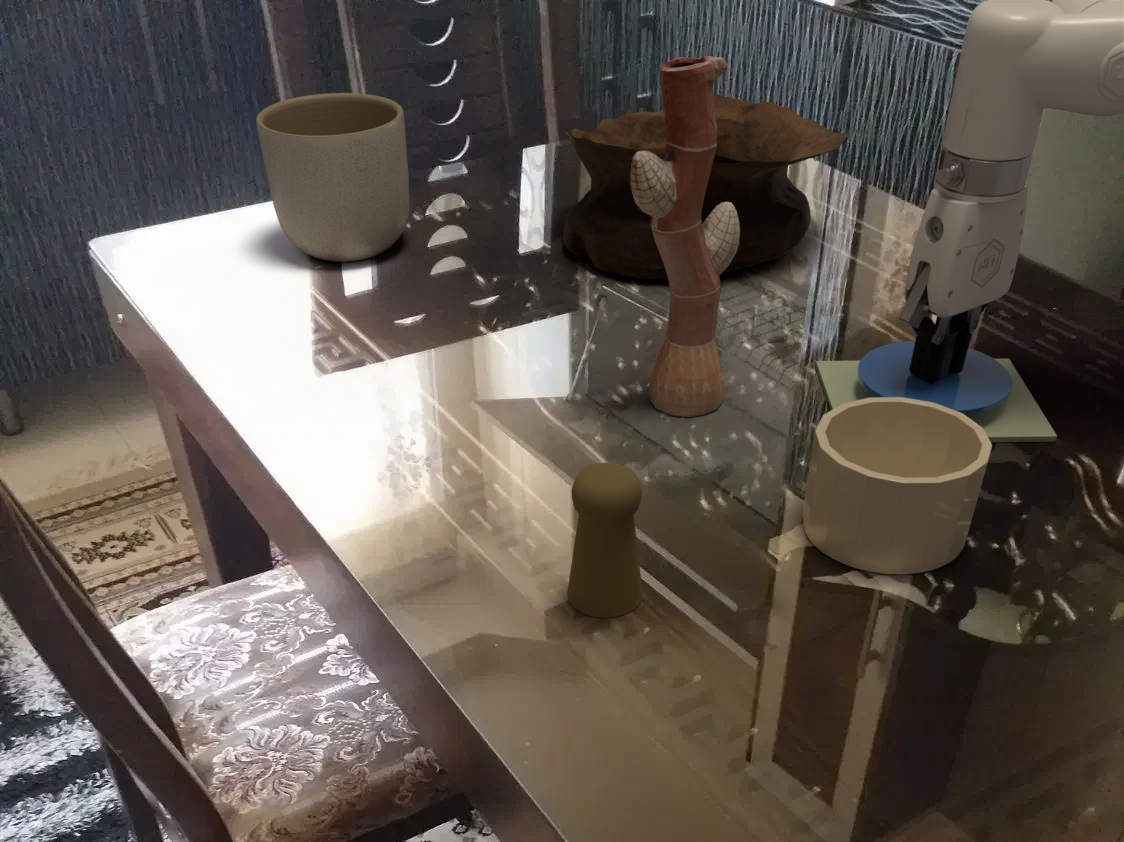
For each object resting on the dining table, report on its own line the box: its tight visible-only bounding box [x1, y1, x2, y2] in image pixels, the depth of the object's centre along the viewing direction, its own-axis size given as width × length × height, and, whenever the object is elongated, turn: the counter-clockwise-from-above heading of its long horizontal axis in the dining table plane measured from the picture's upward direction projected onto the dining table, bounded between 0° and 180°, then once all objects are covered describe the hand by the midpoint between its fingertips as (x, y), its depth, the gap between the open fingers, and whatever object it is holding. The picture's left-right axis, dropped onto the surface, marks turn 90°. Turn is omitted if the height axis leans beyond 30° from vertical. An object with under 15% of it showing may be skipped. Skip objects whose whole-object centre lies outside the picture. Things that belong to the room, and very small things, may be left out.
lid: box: [857, 324, 1013, 415], centre depth 110 cm, size 15×15×6 cm
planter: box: [255, 92, 410, 263], centre depth 138 cm, size 17×17×15 cm
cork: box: [566, 461, 644, 619], centre depth 88 cm, size 6×6×11 cm
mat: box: [814, 358, 1058, 443], centre depth 113 cm, size 20×16×1 cm
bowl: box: [562, 93, 851, 280], centre depth 139 cm, size 34×33×15 cm
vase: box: [630, 55, 740, 418], centre depth 104 cm, size 10×7×30 cm
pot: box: [801, 397, 993, 575], centre depth 95 cm, size 14×14×8 cm
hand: (935, 371), depth 111 cm, fingers closed on lid, 2 cm apart
